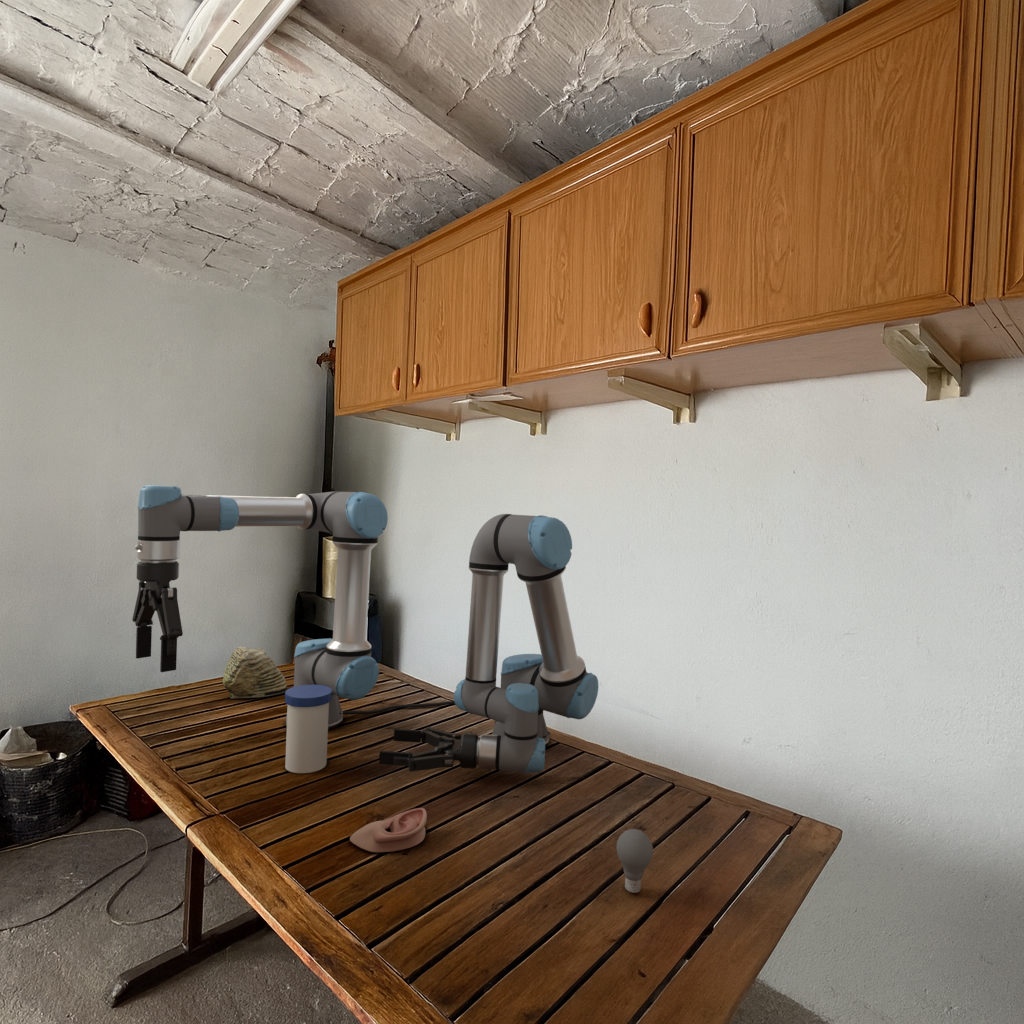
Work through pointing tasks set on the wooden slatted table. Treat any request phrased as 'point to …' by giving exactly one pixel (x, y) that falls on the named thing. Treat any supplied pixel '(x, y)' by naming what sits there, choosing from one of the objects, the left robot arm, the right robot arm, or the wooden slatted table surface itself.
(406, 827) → the anatomical model
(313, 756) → the jar
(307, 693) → the lid
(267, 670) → the fossil
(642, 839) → the light bulb
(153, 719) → the wooden slatted table surface
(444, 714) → the wooden slatted table surface
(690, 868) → the wooden slatted table surface
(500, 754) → the right robot arm
